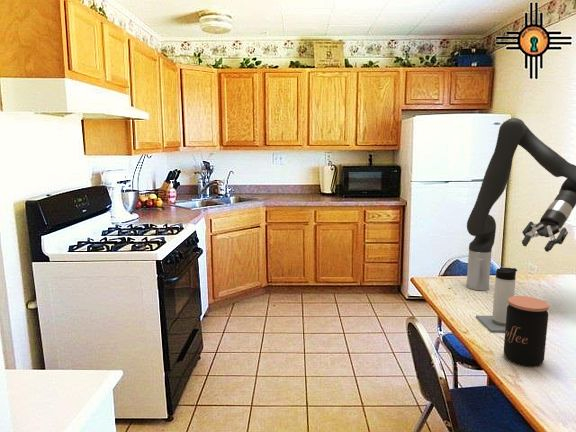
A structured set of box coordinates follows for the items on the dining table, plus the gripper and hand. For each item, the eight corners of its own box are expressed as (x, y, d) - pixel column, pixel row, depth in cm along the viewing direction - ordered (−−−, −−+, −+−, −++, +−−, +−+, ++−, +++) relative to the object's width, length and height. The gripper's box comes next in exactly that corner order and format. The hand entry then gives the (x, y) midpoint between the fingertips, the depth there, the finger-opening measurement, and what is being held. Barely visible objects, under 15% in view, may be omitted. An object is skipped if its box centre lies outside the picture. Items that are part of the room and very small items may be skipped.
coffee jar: (496, 351, 134) (500, 296, 131) (528, 349, 134) (533, 295, 132) (516, 369, 123) (522, 309, 120) (552, 367, 124) (558, 307, 121)
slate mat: (475, 317, 160) (475, 315, 160) (511, 317, 160) (511, 315, 159) (490, 332, 147) (491, 330, 147) (529, 332, 147) (529, 330, 147)
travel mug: (515, 326, 150) (519, 271, 146) (494, 325, 151) (498, 270, 148) (509, 319, 156) (514, 266, 152) (490, 318, 157) (494, 265, 154)
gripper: (534, 205, 167) (513, 237, 164) (573, 211, 155) (550, 245, 151) (541, 218, 170) (520, 249, 167) (579, 224, 158) (557, 258, 155)
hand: (534, 247), depth 159 cm, fingers open, 8 cm apart
